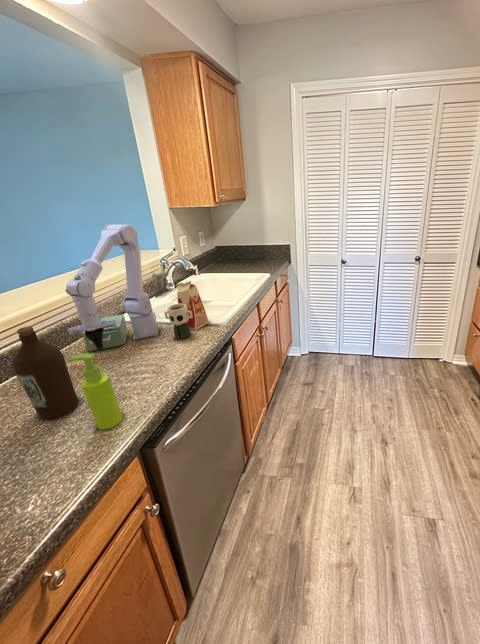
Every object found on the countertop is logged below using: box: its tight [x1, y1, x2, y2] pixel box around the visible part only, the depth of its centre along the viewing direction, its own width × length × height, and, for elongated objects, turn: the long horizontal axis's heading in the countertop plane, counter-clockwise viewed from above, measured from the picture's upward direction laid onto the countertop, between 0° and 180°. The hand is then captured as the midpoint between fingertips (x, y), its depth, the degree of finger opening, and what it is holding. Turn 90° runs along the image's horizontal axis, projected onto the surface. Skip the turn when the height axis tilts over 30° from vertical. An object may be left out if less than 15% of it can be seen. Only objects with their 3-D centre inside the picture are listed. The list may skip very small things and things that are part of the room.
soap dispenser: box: [67, 353, 123, 430], centre depth 81 cm, size 6×7×20 cm
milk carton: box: [175, 280, 210, 331], centre depth 136 cm, size 9×9×20 cm
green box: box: [81, 314, 129, 352], centre depth 129 cm, size 14×13×8 cm
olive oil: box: [12, 326, 79, 421], centre depth 86 cm, size 11×11×25 cm
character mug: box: [163, 303, 193, 340], centre depth 128 cm, size 11×7×13 cm, turn 89°
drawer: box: [83, 329, 123, 352], centre depth 125 cm, size 17×11×6 cm, turn 21°
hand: (100, 348), depth 116 cm, fingers closed, pressing on drawer
